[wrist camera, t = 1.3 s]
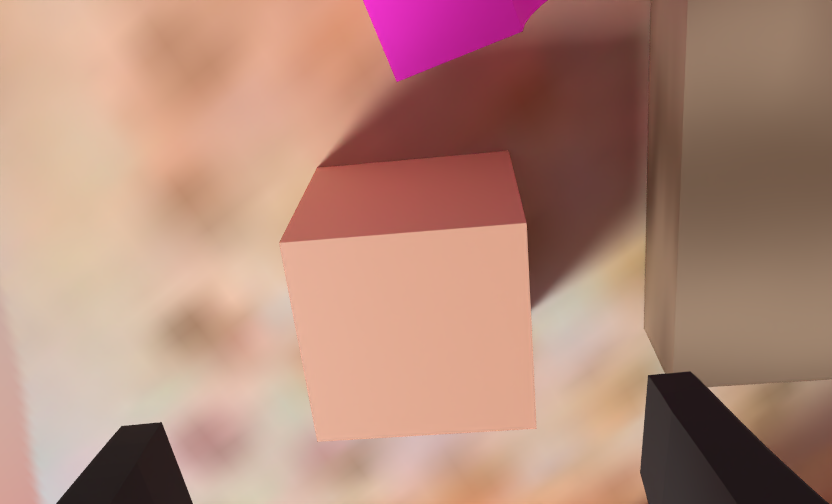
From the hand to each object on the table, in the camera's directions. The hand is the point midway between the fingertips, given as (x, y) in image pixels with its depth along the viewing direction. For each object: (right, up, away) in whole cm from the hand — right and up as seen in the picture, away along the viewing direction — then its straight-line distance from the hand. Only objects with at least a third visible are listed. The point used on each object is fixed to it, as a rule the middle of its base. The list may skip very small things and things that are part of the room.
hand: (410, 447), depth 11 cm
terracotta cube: (0, +3, +9) cm, 10 cm away
